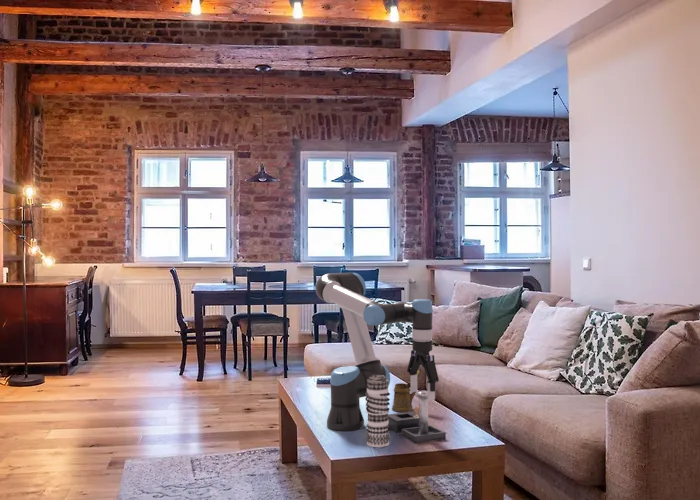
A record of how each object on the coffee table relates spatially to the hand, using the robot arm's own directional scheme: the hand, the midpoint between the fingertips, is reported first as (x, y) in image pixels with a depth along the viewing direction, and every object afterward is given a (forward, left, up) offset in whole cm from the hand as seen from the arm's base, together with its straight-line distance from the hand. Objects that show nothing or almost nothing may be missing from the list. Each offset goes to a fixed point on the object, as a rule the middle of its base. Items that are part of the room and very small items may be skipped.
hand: (422, 395), depth 248 cm
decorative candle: (-19, 0, -16) cm, 25 cm away
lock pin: (0, 0, -15) cm, 15 cm away
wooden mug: (+14, +40, -16) cm, 45 cm away
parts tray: (0, 0, -16) cm, 16 cm away
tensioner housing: (+1, +13, -16) cm, 21 cm away
